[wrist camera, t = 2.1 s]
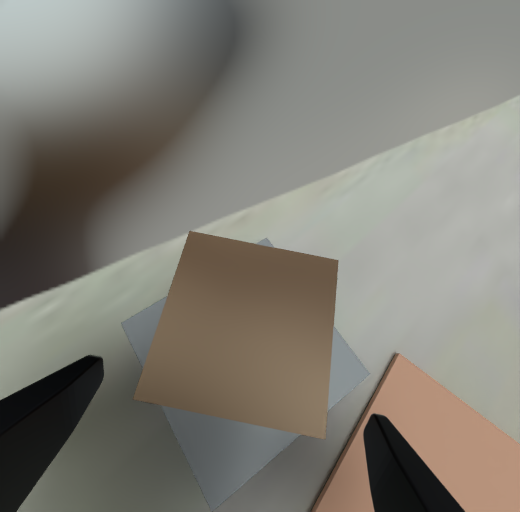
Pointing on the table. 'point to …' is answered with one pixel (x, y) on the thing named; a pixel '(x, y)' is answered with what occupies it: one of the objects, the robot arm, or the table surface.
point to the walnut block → (245, 336)
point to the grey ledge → (229, 431)
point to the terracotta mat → (430, 446)
